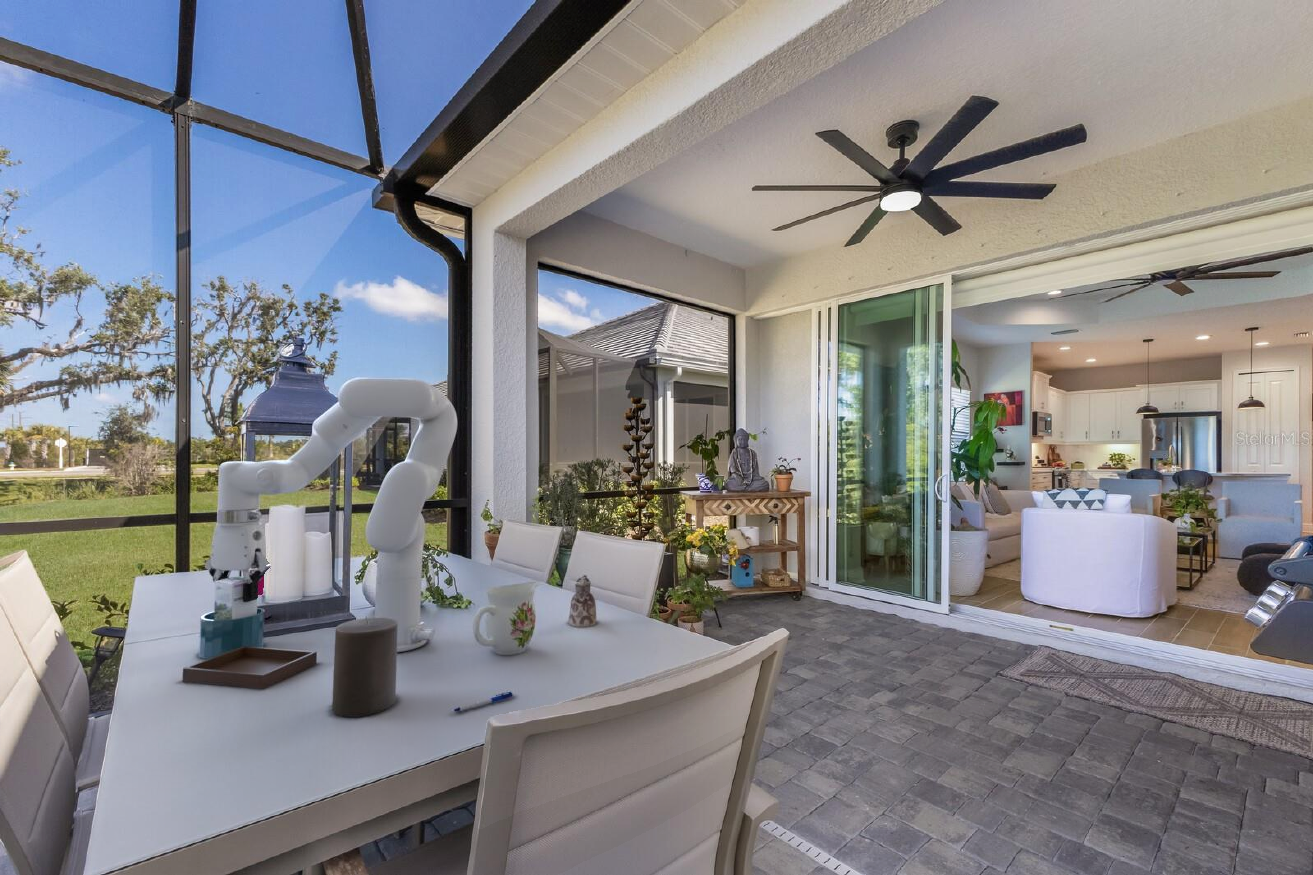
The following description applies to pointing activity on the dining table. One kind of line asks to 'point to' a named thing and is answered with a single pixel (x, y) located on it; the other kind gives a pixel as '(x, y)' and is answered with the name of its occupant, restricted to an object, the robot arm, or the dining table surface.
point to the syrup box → (232, 600)
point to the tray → (250, 667)
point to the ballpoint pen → (485, 701)
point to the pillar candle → (364, 666)
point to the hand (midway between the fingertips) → (236, 599)
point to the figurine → (582, 605)
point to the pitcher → (508, 618)
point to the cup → (230, 633)
